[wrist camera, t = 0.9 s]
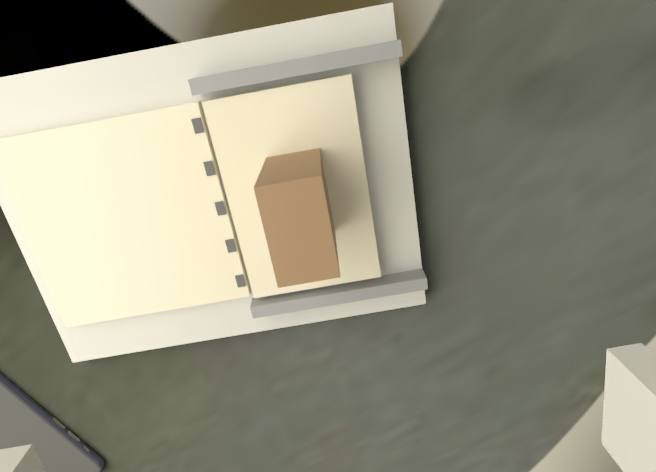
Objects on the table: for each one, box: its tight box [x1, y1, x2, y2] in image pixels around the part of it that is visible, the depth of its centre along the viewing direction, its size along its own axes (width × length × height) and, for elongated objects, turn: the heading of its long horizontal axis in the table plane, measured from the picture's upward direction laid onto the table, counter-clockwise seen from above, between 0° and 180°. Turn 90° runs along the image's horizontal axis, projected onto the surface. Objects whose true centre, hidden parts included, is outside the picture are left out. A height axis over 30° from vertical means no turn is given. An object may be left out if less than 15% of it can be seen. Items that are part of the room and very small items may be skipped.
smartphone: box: [0, 373, 105, 472], centre depth 35 cm, size 8×1×15 cm
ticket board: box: [0, 3, 428, 362], centre depth 28 cm, size 24×18×2 cm
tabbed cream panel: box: [202, 73, 381, 298], centre depth 24 cm, size 8×12×7 cm, turn 10°
